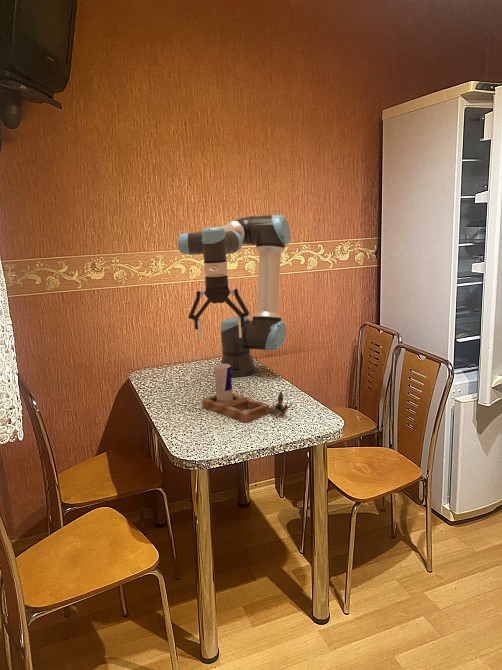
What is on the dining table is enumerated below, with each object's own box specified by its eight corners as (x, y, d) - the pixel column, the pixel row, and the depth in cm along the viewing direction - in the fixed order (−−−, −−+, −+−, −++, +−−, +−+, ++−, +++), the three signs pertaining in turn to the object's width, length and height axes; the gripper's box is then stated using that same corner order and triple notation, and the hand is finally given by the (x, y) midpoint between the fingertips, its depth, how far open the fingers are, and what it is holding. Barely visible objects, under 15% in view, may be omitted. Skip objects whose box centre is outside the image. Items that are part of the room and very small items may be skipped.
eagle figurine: (298, 411, 182) (287, 398, 190) (288, 397, 179) (277, 384, 186) (280, 425, 182) (269, 412, 190) (270, 411, 178) (259, 398, 186)
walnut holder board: (202, 407, 193) (202, 399, 193) (226, 399, 201) (226, 391, 200) (245, 423, 177) (245, 414, 177) (269, 413, 185) (269, 404, 184)
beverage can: (231, 409, 190) (228, 367, 186) (215, 409, 191) (212, 367, 187) (234, 404, 195) (232, 363, 192) (219, 403, 196) (216, 363, 193)
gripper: (176, 278, 180) (182, 342, 184) (253, 274, 179) (257, 338, 184) (180, 275, 187) (185, 336, 192) (254, 271, 186) (257, 333, 191)
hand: (220, 337), depth 188 cm, fingers open, 13 cm apart
